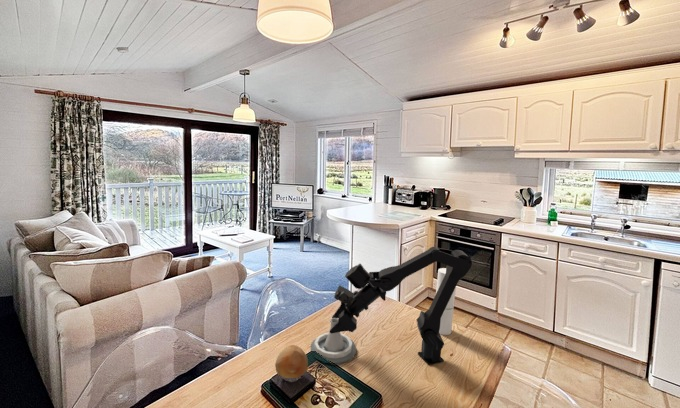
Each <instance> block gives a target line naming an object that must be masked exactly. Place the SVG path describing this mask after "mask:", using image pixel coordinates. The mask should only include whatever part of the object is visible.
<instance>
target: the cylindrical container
mask: <svg viewBox="0 0 680 408" xmlns="http://www.w3.org/2000/svg"><path fill="white" fill-rule="evenodd" d="M445 274H446V267H440V268H438V270H437V278H436V280H437V281H436V289H435V290H436V291H435V294H436V293H437V291H438V289H439V287H440V285H441V282H442V280H443V278H444V276H445ZM456 288H457V287H456ZM456 288H455V290H454V292H453V294H452V296H451V298H450V300H449V302H448V304H447V306H446V308H445V310H444V312H443V314H442V317H441V321H440V330H439V333H440V335H442V336H447V335H448V336H449V335H451V333H452V326H453V318H454V309H455V308H454V307H455V299H456Z"/></svg>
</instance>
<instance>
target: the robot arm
mask: <svg viewBox="0 0 680 408" xmlns="http://www.w3.org/2000/svg"><path fill="white" fill-rule="evenodd" d="M472 261H473V260H472V258H470V256H469V255H467V254H466V252H464V251H463V250H460V249H454V250H452V249H447V248H440V247H436V246H431V247H429V248H428V249H426V250H425V251H424V252H421V253H419V254H418V255H416V256H414V257H412V258H410V259H408V260H407V261H404V262H402V263H401V264H399V265H393V266H389V267H386V268H383V269H380V270H379V271H369V272H368V271H367V270H366V268H365V267H364V266H363V265H362V264H361V263H358V264H356V265H355V266H352V267H351V268H349V270H348V271H347V272H346V273H345V275H344V277H345V279H347V281H349V283H350V284H351V285H352V286H353V287H354V288H355V289H357V290H355V291H353V292H352V291H351V290H349V289H348V288H346V287H344V286H342V285H338V287H337V289H336V290H335V292H334V296H333V297H334V299H335V300H337V301H340V305H339V306H338V307H337V309H336V311H335V312H334V314H333V315H332V316H331V319H332V318H337V319H338V321H337V323H336V324H335V325H334V326H333V327H332V328H331V329H329V332H330V333H331V334H332V333H337V332H340V333H341V332H350V333H354V332H355V331H356V330H357V328H358V327H357V324H358V321H357V318H359V317H360V313H362V312H363V311H364V310H365V311H368V310H369V306H370V305H371V304H373V302H375V301H377V299H379V297H380V298H381V299H382V300H383V302H384V301H386V297H387V292H390V291H392V290H394V289H395V288H396V287H398V286H399V285H400V284H401V283H402V282H403V280H405V279H406V278H408V277H409V276H411V275H414V274H415V273H417V272H418V271H421V270H423V269H424V268H426V267H428V266H430V265H432V264H434V263H436V262H437V263H440V264H443V265H445V268H446V274H445V276H444V278H443V280H442V282H441V285H440V287H439V289H438V291H437V293H436V292H435V296H434V298H432V299H433V300H432V302H431V304H430V306H429V308H428V309H427V310H426V311H423V310H420V313H419V316H418V317H417V318H416V325H417V329H418V331H419V335H420V337H421V339H422V340H421V350H420V351H418V352H417V355H418V356H419V357H420V358H421V359H422V360H423V361H424V362H425V363H426V364H427V365H429V366H430V365H434V364H440V363H443V362H445V359H444V358H443V357H441V355H442V349H443V348H444V345H445V342H444V340H443V338H442V336H441V335H442V334H440V333H439V330H440V321H441V317H442V314H443V312H444V310H445V308H446V306H447V304H448V302H449V300H450V298H451V296H452V294H453V292H454V290H455V288H457V285H458V283H459V282H460V281H461V280H462V279H463V278H465V277H466V276H467V274H468V273H469V272H470V271H471V269H472V267H473V262H472ZM455 291H456V290H455ZM329 332H328V333H329Z"/></svg>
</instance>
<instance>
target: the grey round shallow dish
mask: <svg viewBox="0 0 680 408" xmlns="http://www.w3.org/2000/svg"><path fill="white" fill-rule="evenodd" d="M328 334H329V332H325V333H321V334H320V335H319V336H317V337H316V338H315V339H313V340H312V341H311V344H310V352H311V351H316V352H317V353H319V354H320V355H322V356H323V357H324V358H326V359H327V360H329V361H331V362H333V363H335V364H334V365H341V364H345V363H347V362H350V361H351V360H353V358H354V357H355V356H356V353H357V346H356V343H355V342H354V341H353V340H352V339H351V338H350V337H349V336H347V335H346V334H343V333H341V332H340V334H341V337H342V340H343V343H344V347H343V350H341V351H339V352H330V351H327V350H326V349H325V348H323V346H324V344H325V341H326V339H327V337H328Z"/></svg>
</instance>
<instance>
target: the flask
mask: <svg viewBox="0 0 680 408" xmlns="http://www.w3.org/2000/svg"><path fill="white" fill-rule="evenodd" d="M329 321H330V327H329V328H330V329H331V328H332V327H333V326H334V325H335V324H336V323H337V321H338V318H332V317H331V319H330V320H329ZM330 329H329V330H330ZM328 333H329V334H328V337H327V339H326V341H325V344H324V346H323V348H325V349H326V350H327V351H330V352H339V351H341V350H343V347H344V343H343V340H342V337H341V334H342V333H341V332H337V333H332V334H331V333H330V332H328ZM340 333H341V334H340Z"/></svg>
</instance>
